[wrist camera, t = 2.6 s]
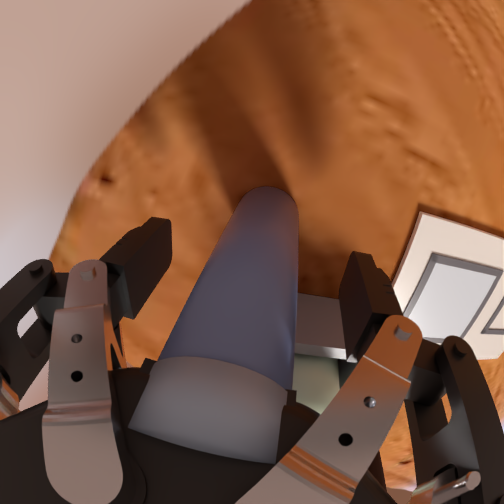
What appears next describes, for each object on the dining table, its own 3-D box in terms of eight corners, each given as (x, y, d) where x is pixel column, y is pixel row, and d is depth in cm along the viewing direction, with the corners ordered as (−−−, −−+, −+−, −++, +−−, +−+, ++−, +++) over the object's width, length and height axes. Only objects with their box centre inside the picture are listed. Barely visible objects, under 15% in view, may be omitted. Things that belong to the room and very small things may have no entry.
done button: (347, 338, 15) (354, 403, 11) (324, 380, 18) (324, 437, 14) (270, 326, 16) (260, 393, 12) (259, 371, 18) (249, 429, 14)
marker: (306, 190, 13) (311, 457, 3) (294, 250, 15) (271, 491, 5) (238, 179, 14) (95, 404, 3) (232, 239, 15) (139, 460, 5)
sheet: (555, 259, 12) (558, 262, 11) (495, 355, 17) (497, 359, 17) (419, 211, 13) (423, 215, 12) (357, 351, 18) (358, 356, 18)
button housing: (367, 303, 16) (379, 352, 13) (334, 369, 20) (336, 413, 16) (256, 285, 17) (245, 334, 13) (245, 357, 20) (235, 400, 17)
